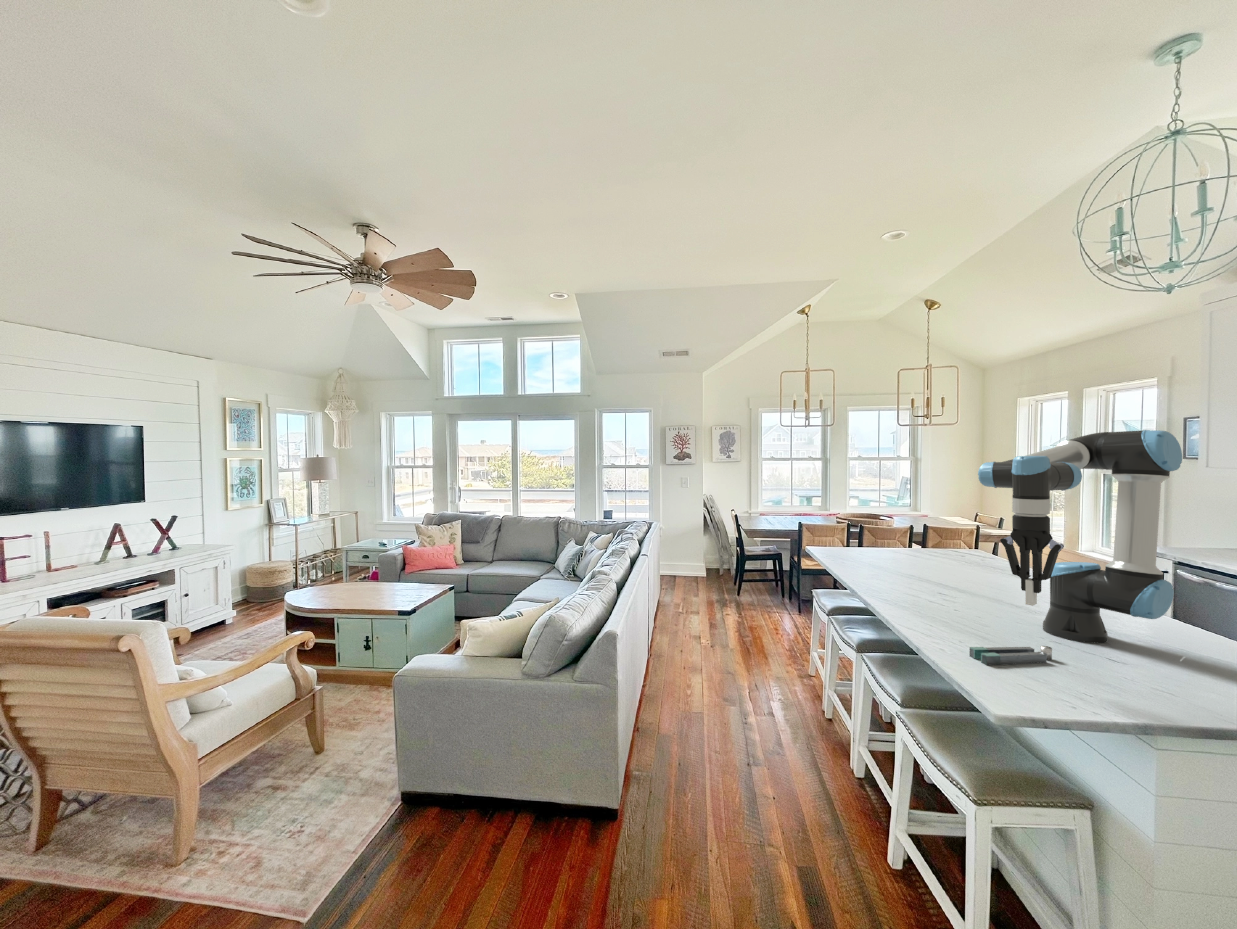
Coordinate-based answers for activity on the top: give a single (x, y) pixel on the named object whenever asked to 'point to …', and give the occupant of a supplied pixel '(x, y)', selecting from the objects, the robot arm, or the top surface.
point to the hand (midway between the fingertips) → (1031, 604)
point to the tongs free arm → (1013, 658)
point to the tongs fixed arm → (1007, 651)
